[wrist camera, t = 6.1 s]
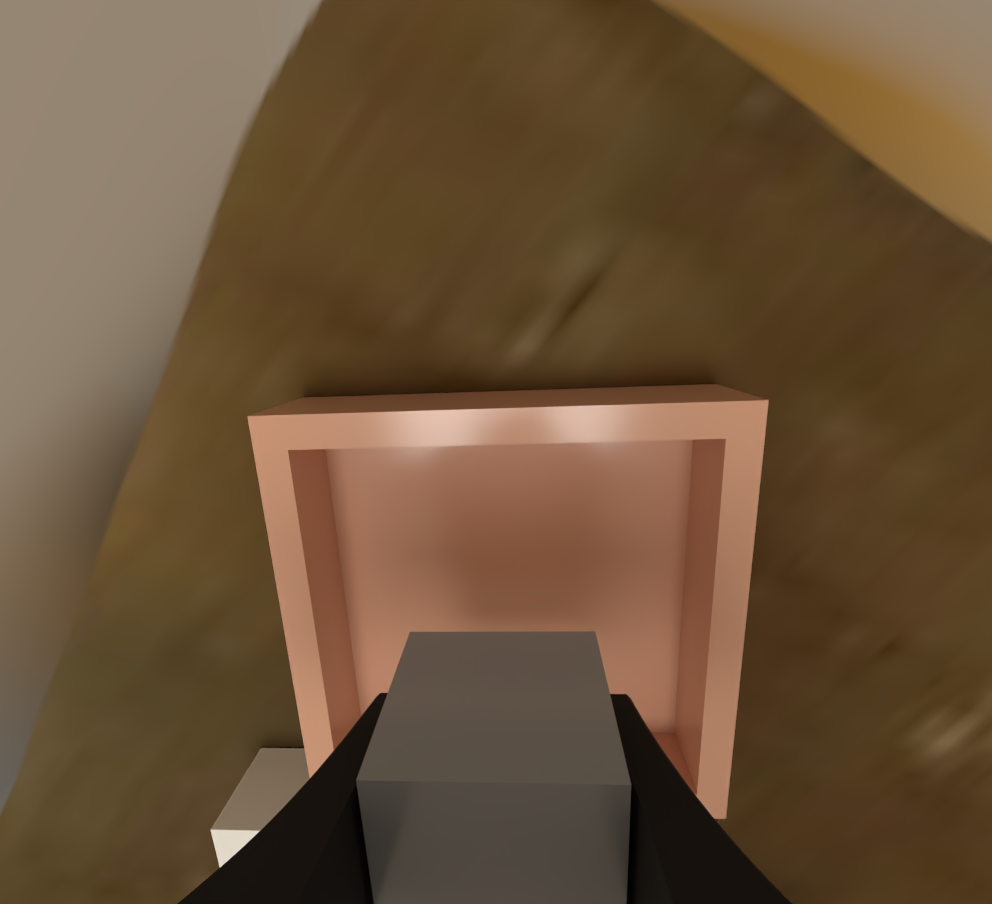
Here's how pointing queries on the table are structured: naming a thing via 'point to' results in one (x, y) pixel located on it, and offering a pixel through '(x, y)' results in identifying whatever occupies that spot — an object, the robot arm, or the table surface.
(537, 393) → the bin
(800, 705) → the table surface
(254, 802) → the tub
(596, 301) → the table surface
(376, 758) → the gray cube
